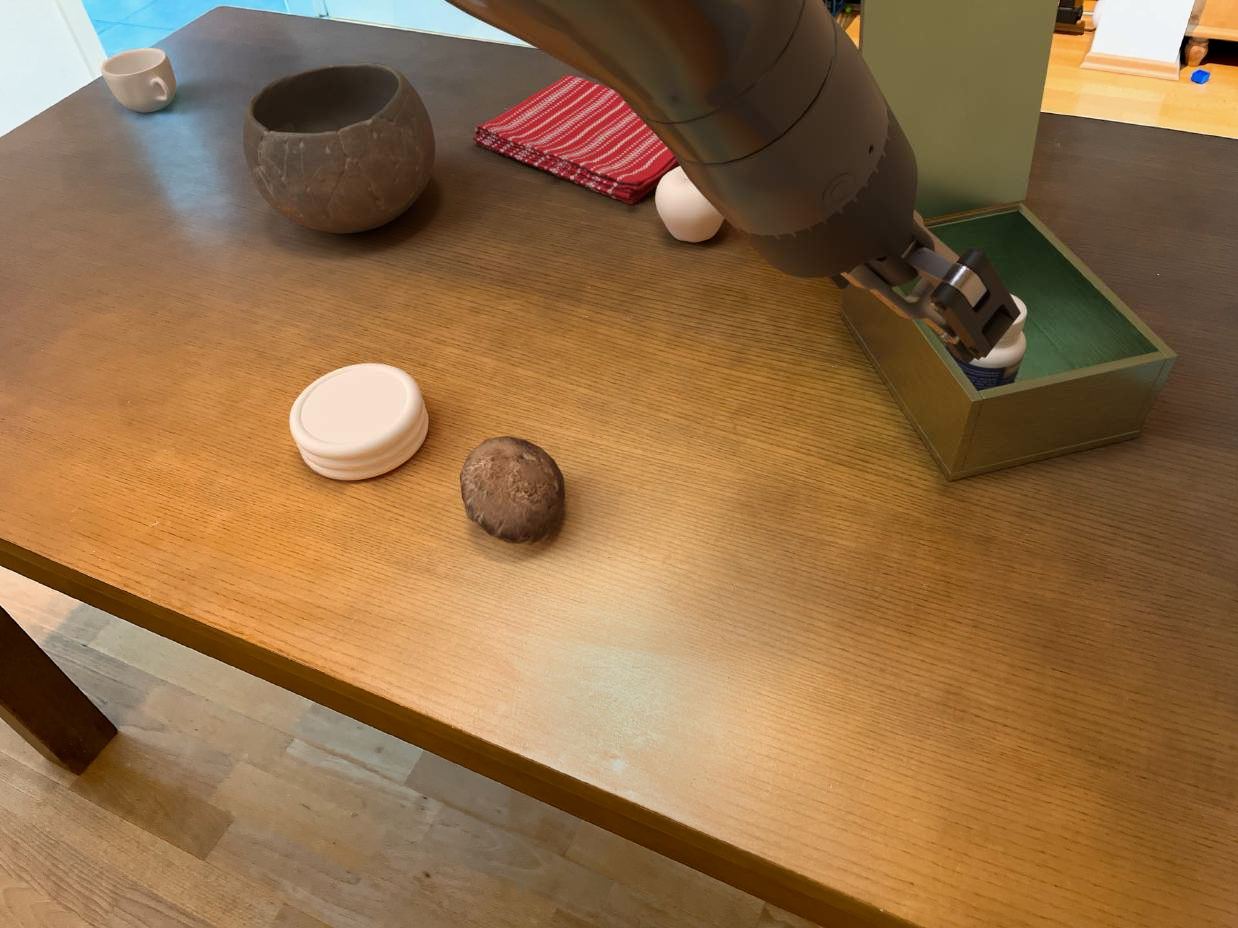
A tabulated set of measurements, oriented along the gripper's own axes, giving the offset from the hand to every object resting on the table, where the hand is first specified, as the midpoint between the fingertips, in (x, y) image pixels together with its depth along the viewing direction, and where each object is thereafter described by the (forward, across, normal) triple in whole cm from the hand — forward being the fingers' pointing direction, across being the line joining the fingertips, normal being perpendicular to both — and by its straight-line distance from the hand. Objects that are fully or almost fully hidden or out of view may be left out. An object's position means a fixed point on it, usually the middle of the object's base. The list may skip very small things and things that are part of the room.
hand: (910, 307), depth 49 cm
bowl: (+9, +61, +17) cm, 64 cm away
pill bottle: (+23, +3, 0) cm, 23 cm away
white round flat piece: (+1, +31, +29) cm, 43 cm away
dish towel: (+25, +55, -4) cm, 61 cm away
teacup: (+4, +102, +24) cm, 104 cm away
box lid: (+14, +15, -18) cm, 27 cm away
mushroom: (+4, +16, +25) cm, 30 cm away
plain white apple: (+23, +35, 0) cm, 42 cm away
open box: (+26, +5, -3) cm, 26 cm away
